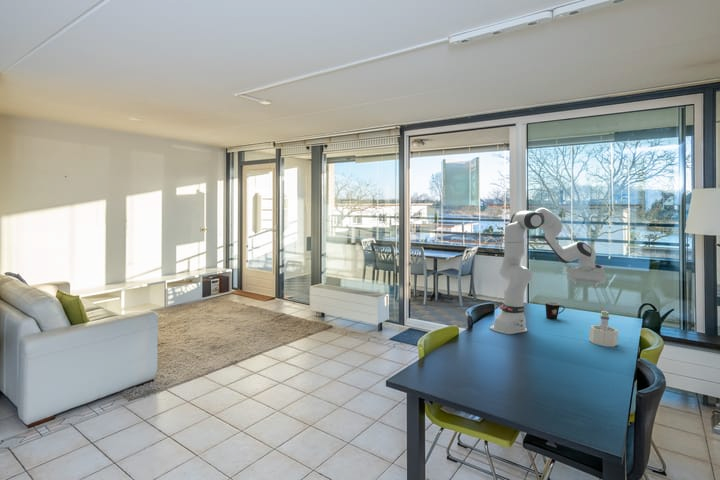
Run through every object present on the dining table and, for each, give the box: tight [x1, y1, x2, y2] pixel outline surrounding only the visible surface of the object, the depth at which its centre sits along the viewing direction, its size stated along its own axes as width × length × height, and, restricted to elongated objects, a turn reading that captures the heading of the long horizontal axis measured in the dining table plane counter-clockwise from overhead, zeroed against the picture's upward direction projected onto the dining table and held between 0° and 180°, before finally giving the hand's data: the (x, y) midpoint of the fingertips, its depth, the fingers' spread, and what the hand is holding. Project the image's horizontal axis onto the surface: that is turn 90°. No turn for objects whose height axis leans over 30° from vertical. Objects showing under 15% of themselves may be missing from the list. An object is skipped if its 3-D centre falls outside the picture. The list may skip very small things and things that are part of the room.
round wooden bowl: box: [589, 324, 619, 347], centre depth 215 cm, size 12×12×8 cm
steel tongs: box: [600, 310, 610, 331], centre depth 215 cm, size 6×6×16 cm
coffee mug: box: [544, 301, 566, 321], centre depth 261 cm, size 12×9×10 cm
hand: (585, 286), depth 232 cm, fingers open, 8 cm apart
